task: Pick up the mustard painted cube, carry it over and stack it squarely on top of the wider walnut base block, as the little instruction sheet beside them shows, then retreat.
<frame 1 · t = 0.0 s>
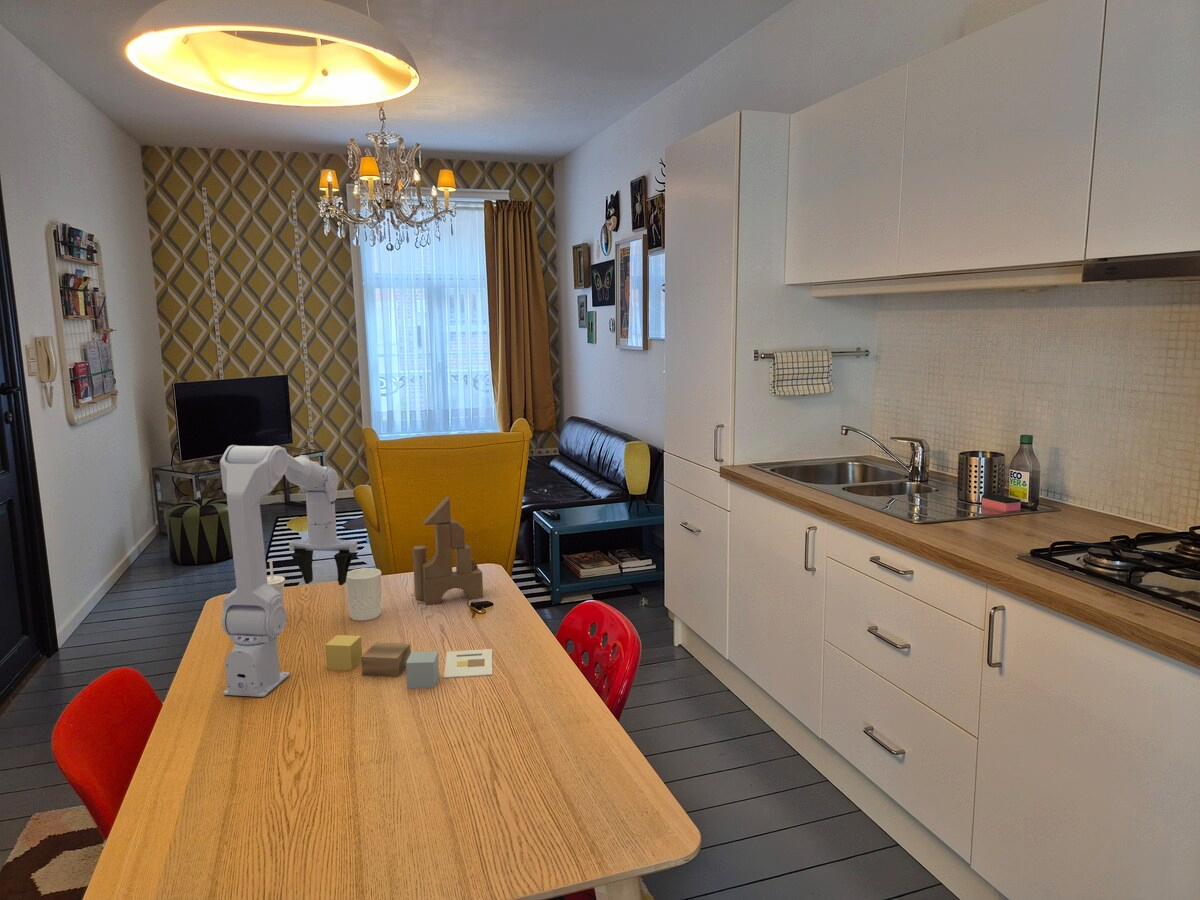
hand: (325, 583, 178), 10 cm above the table, fingers open, 7 cm apart
wooden toy: (448, 598, 198), on the table
mustard brick: (344, 664, 160), on the table
slate brick: (423, 682, 152), on the table
instruction sheet: (468, 663, 160), on the table
white cup: (365, 616, 186), on the table
walnut base: (387, 669, 158), on the table
smoothie: (272, 622, 183), on the table
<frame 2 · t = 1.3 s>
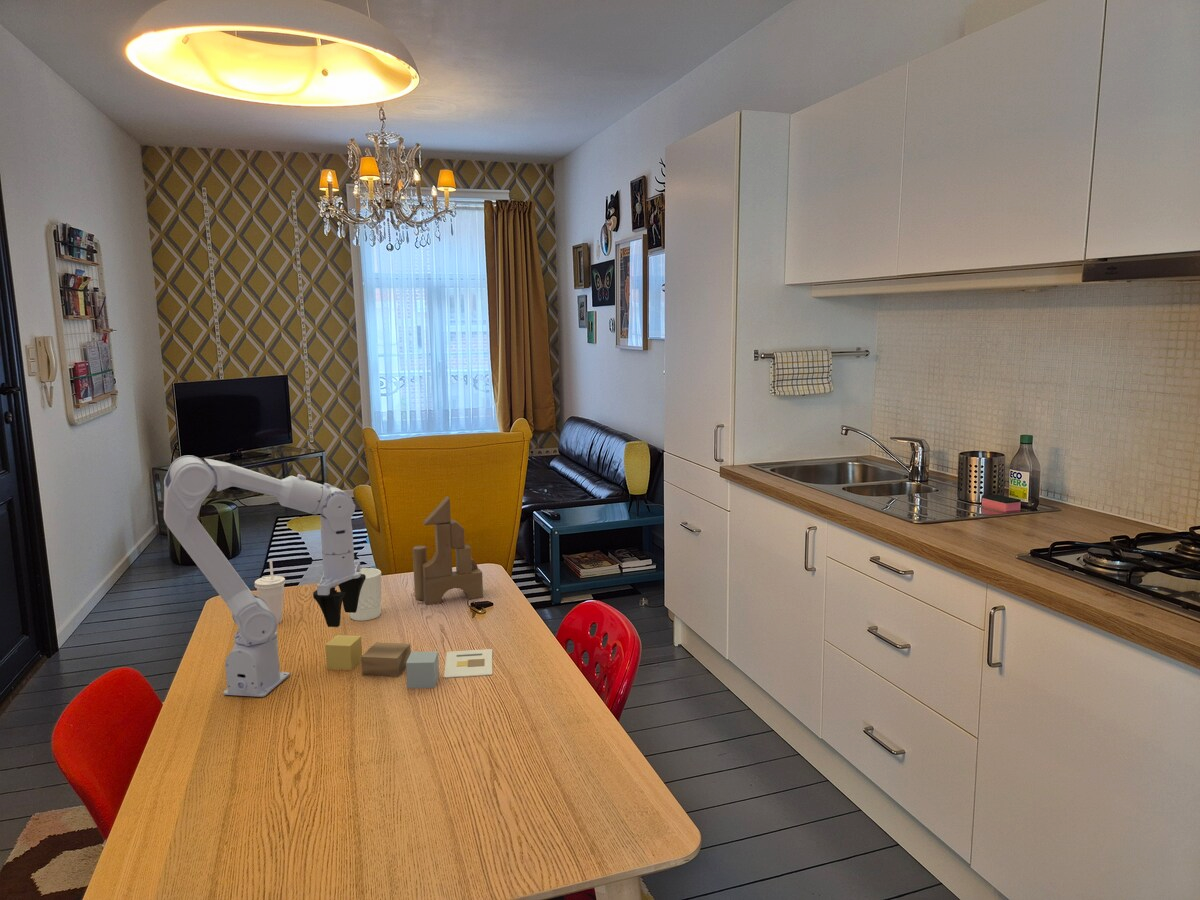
hand: (342, 619, 159), 9 cm above the table, fingers open, 7 cm apart
nothing on the table moved.
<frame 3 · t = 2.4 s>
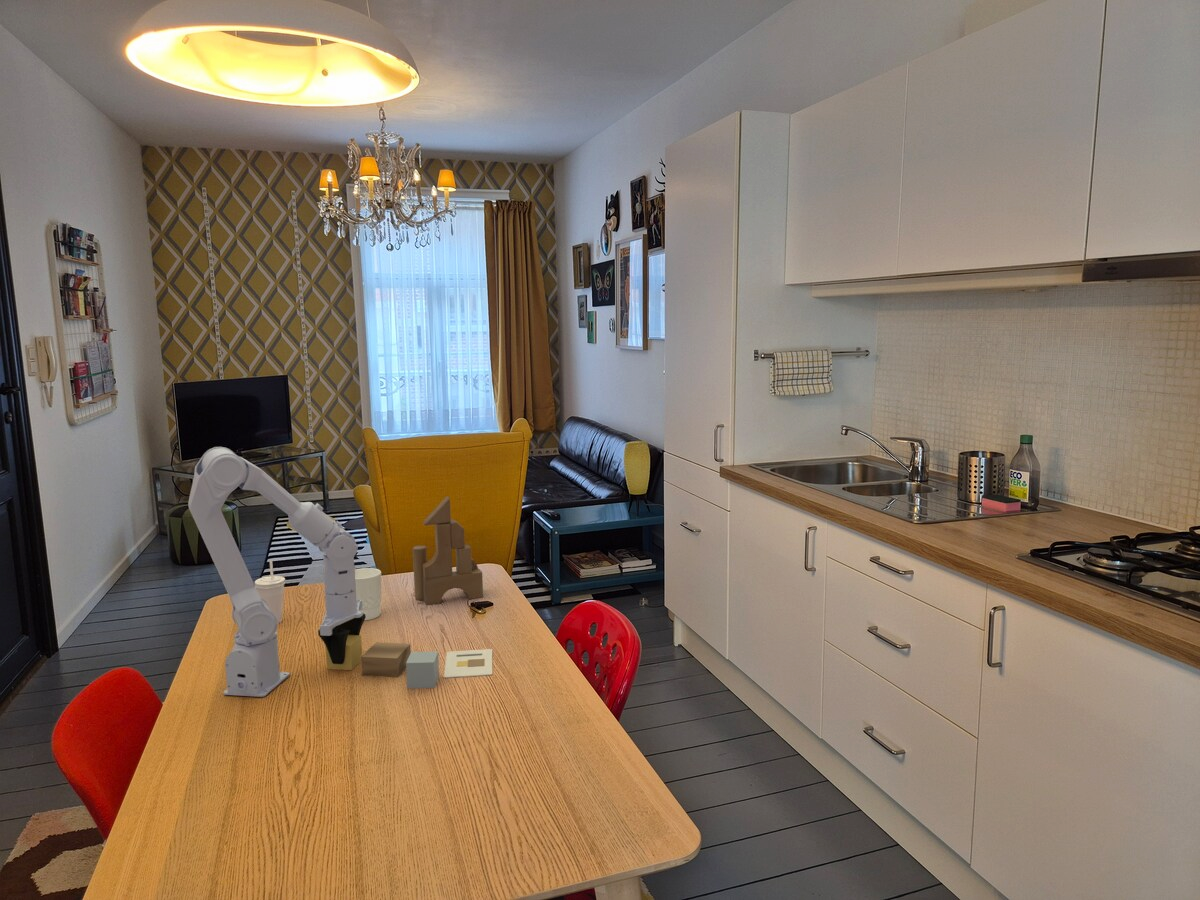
hand: (344, 657, 160), 1 cm above the table, fingers closed on mustard brick, 5 cm apart
mustard brick: (344, 664, 160), on the table, touching gripper
everything else where it was.
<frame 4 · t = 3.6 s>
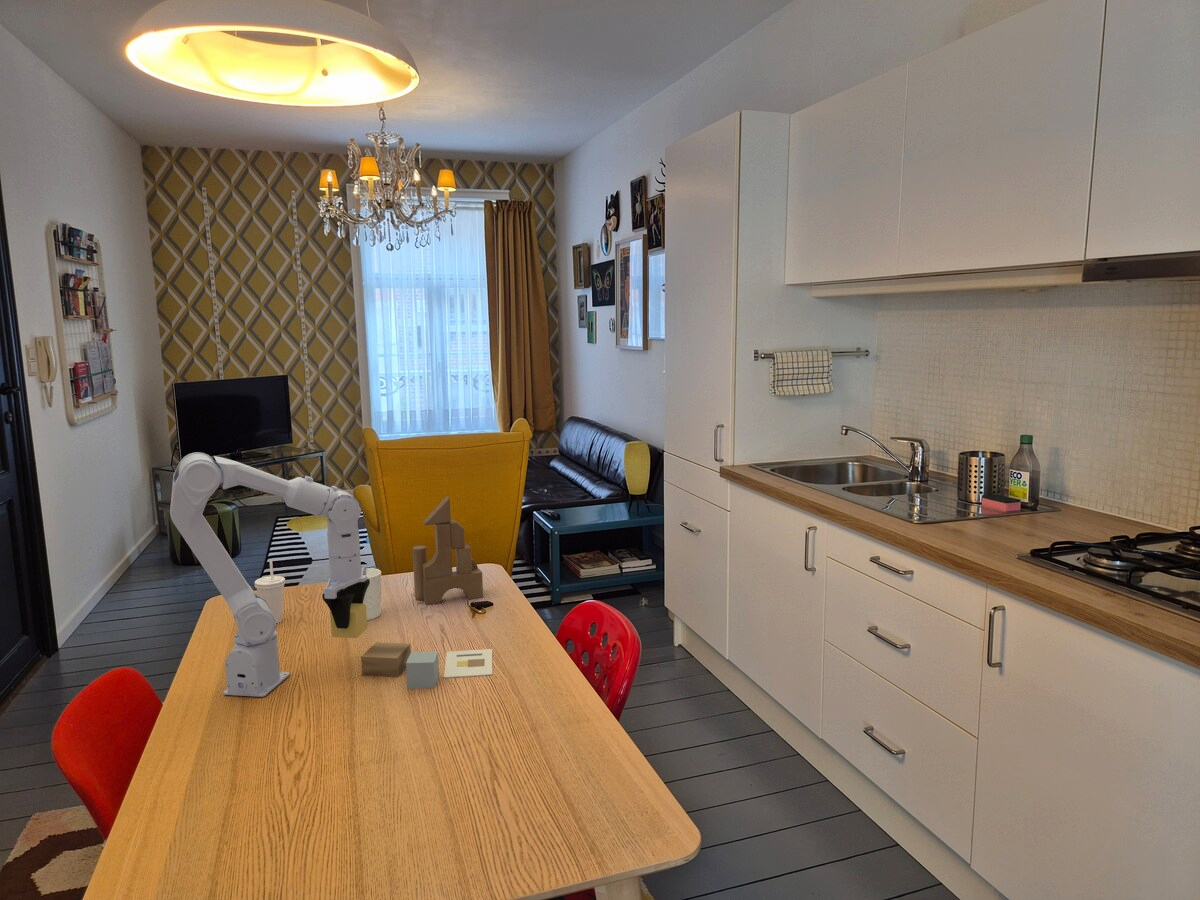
hand: (348, 622, 158), 9 cm above the table, fingers closed on mustard brick, 5 cm apart
mustard brick: (349, 632, 159), point 7 cm above the table, touching gripper
everything else where it was.
when the fingers open (6 cm above the table, at t = 5.1 s): mustard brick stays where it is, point 4 cm above the table.
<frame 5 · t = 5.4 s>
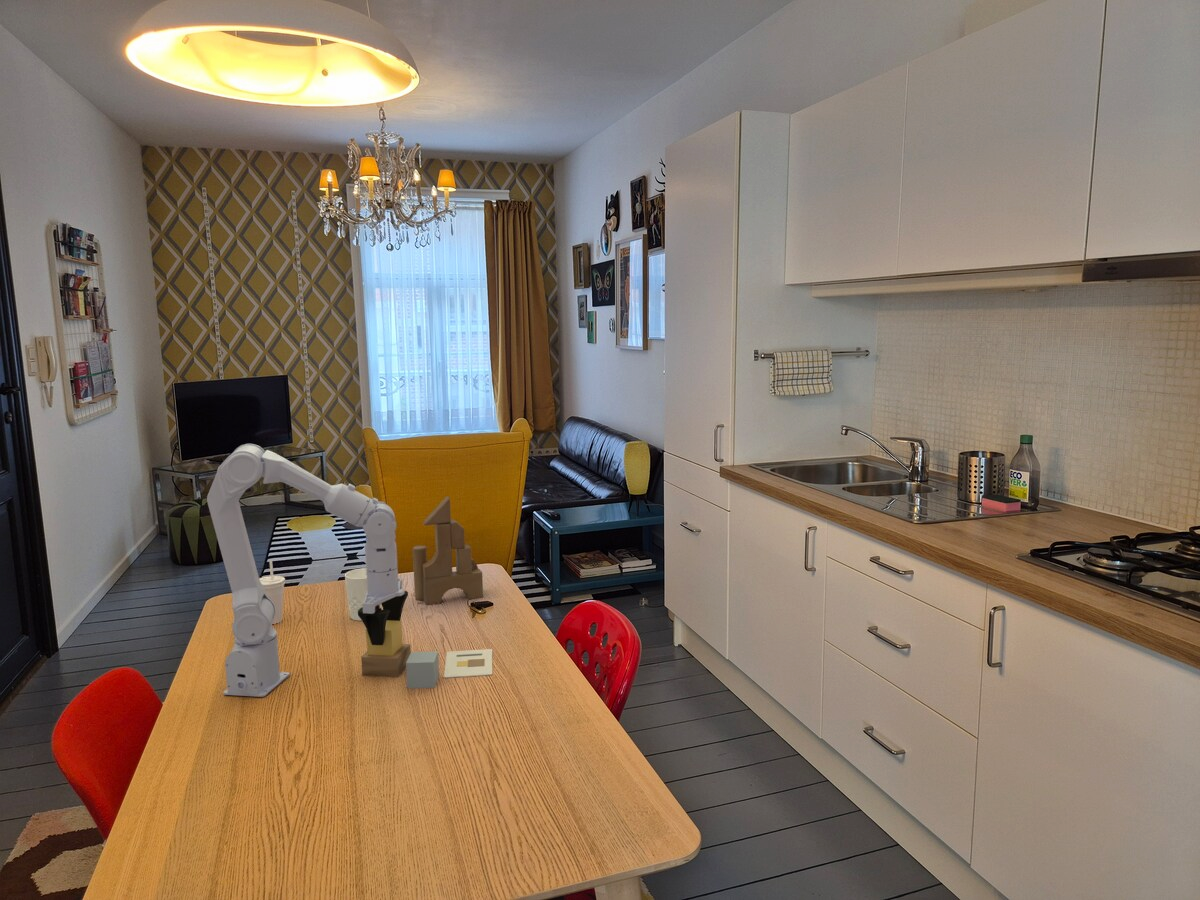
hand: (385, 636, 157), 6 cm above the table, fingers open, 7 cm apart
mustard brick: (385, 650, 157), point 4 cm above the table
everything else where it was.
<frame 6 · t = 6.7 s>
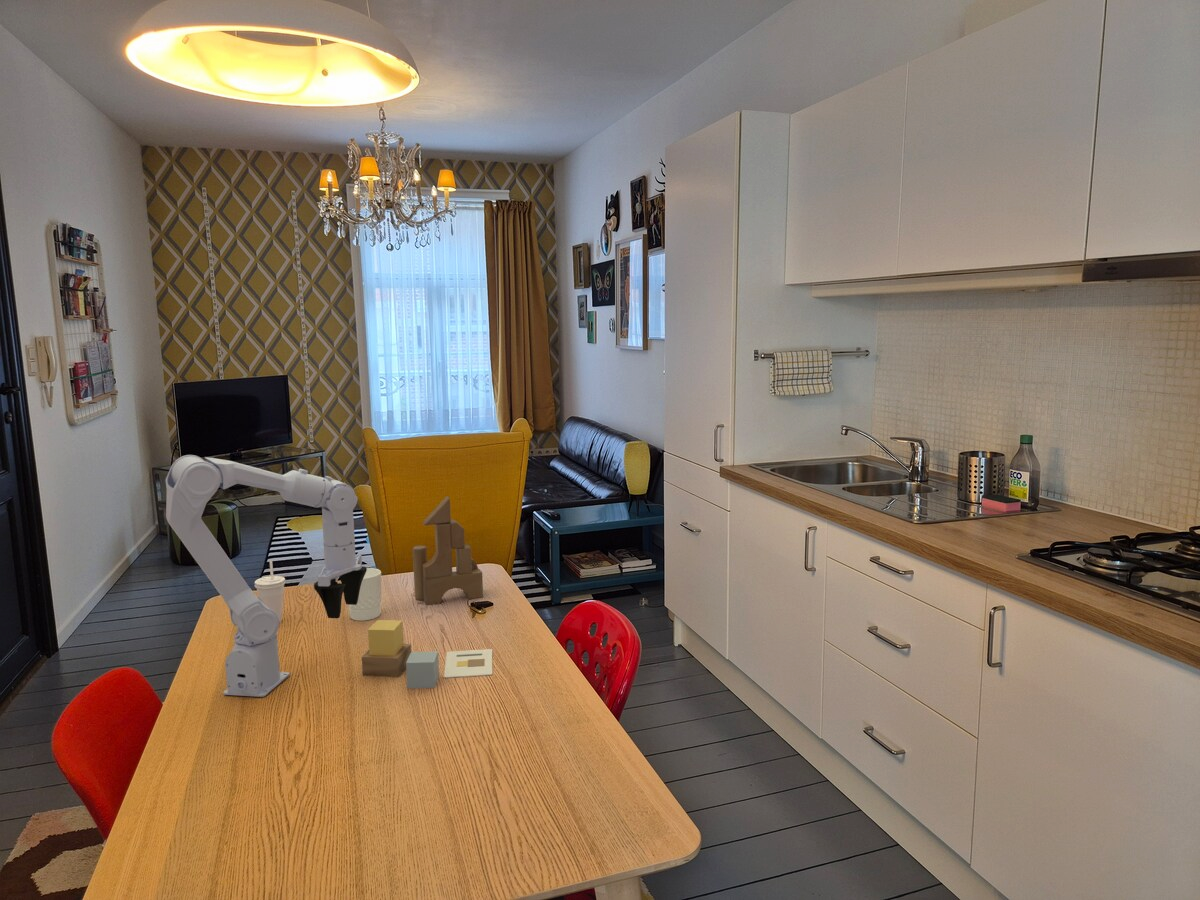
hand: (342, 610, 160), 10 cm above the table, fingers open, 7 cm apart
nothing on the table moved.
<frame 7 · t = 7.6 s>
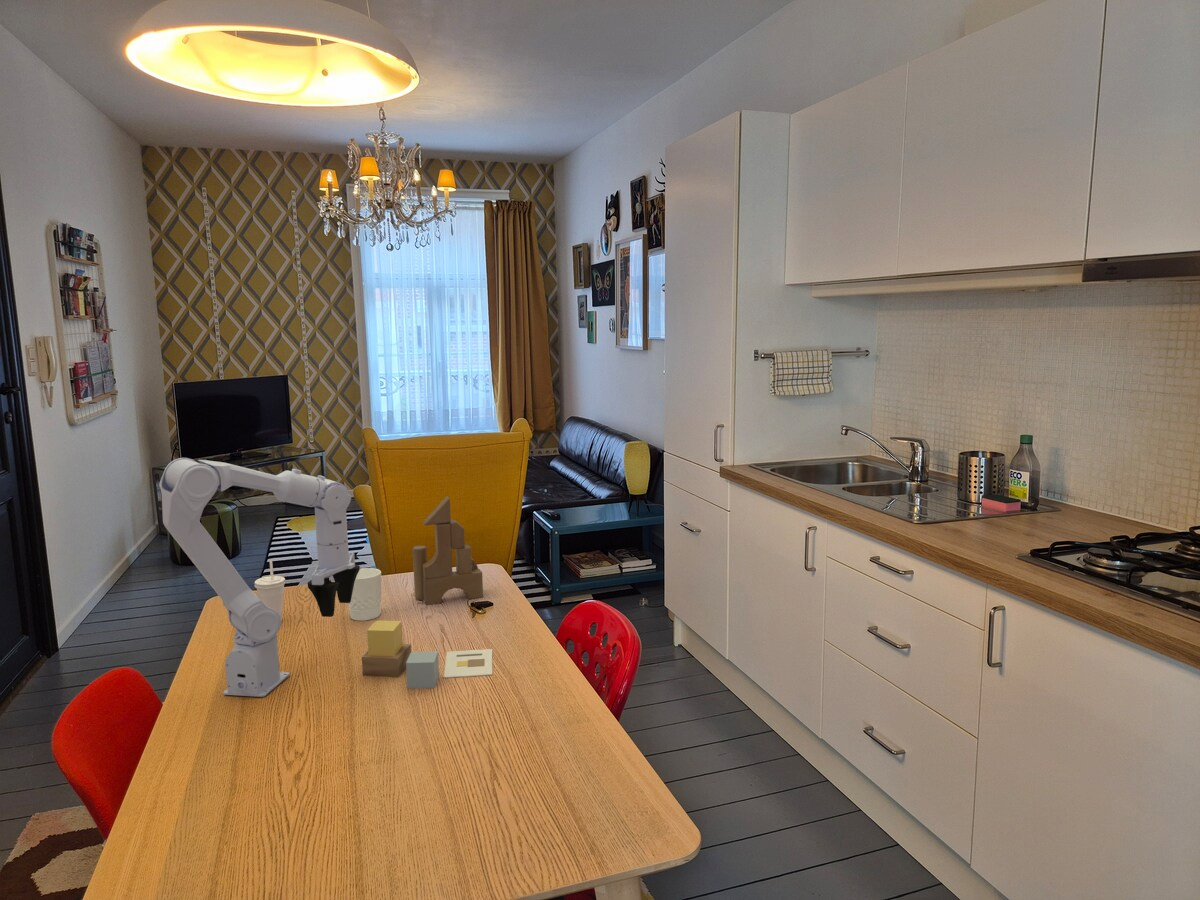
hand: (336, 609, 161), 10 cm above the table, fingers open, 7 cm apart
mustard brick: (385, 650, 157), point 4 cm above the table, touching walnut base
walnut base: (387, 670, 158), on the table, touching mustard brick
everything else where it was.
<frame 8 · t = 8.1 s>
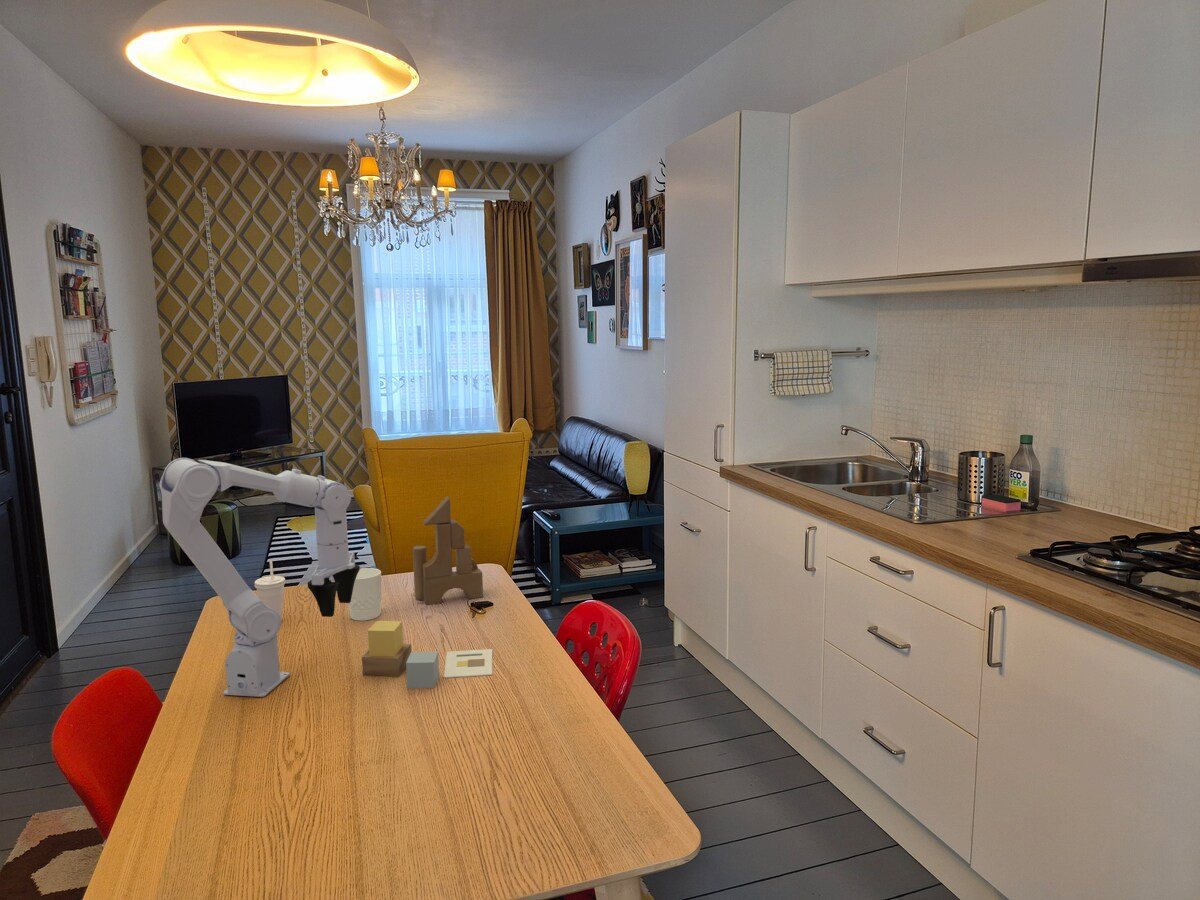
hand: (336, 609, 161), 10 cm above the table, fingers open, 7 cm apart
nothing on the table moved.
at the end: mustard brick 0.2 cm off-centre on the walnut base, point 4.0 cm above the walnut base's base; mustard brick tilted 0°; the gripper is holding nothing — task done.
